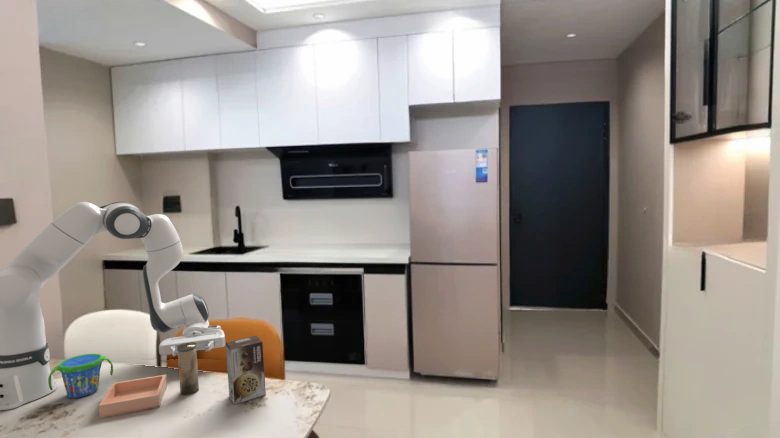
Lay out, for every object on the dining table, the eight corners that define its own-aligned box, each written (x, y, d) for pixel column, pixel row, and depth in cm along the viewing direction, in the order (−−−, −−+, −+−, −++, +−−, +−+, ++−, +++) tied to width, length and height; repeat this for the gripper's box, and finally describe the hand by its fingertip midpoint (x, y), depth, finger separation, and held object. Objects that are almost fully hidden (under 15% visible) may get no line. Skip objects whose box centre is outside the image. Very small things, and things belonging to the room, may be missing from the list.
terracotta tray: (99, 418, 110) (98, 405, 110) (113, 394, 123) (113, 383, 123) (159, 407, 115) (158, 394, 115) (166, 385, 128) (166, 374, 128)
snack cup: (114, 379, 133) (112, 348, 133) (114, 392, 125) (111, 359, 124) (52, 393, 125) (49, 360, 124) (47, 408, 116) (44, 373, 115)
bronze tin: (179, 396, 121) (175, 350, 120) (181, 388, 126) (178, 343, 125) (198, 393, 123) (195, 347, 122) (199, 385, 128) (197, 341, 127)
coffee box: (259, 386, 126) (257, 334, 125) (266, 395, 120) (263, 341, 119) (228, 395, 121) (225, 341, 119) (233, 405, 115) (230, 348, 114)
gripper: (161, 333, 143) (154, 346, 130) (224, 324, 151) (224, 337, 138) (162, 350, 144) (155, 366, 131) (225, 341, 151) (225, 355, 138)
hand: (191, 351), depth 134 cm, fingers open, 8 cm apart
